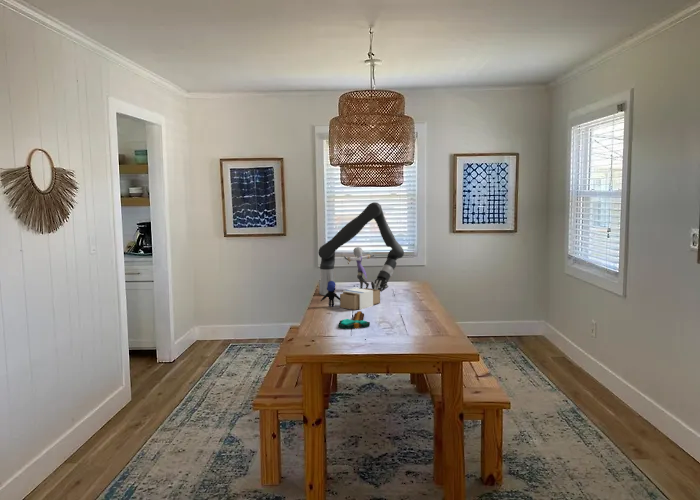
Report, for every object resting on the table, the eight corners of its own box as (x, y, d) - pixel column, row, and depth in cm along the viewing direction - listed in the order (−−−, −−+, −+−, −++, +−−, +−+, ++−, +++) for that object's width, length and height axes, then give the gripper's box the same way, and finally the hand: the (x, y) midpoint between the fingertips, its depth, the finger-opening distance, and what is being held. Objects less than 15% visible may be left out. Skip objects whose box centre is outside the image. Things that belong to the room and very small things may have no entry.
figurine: (345, 287, 391) (344, 245, 388) (374, 287, 390) (374, 245, 387) (343, 291, 375) (343, 248, 372) (374, 291, 374) (374, 247, 370)
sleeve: (355, 303, 338) (355, 287, 337) (373, 306, 329) (373, 290, 328) (342, 306, 329) (342, 290, 328) (360, 309, 320) (360, 293, 319)
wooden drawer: (366, 300, 343) (366, 288, 342) (380, 303, 336) (380, 290, 335) (340, 307, 325) (340, 294, 324) (354, 309, 318) (354, 296, 317)
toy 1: (343, 305, 333) (342, 280, 331) (341, 307, 327) (341, 282, 325) (321, 304, 334) (321, 280, 333) (320, 307, 328) (319, 282, 327)
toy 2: (343, 316, 306) (337, 330, 277) (343, 311, 306) (337, 324, 276) (371, 316, 305) (369, 330, 275) (371, 311, 305) (369, 324, 275)
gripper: (374, 269, 350) (362, 291, 342) (391, 270, 341) (379, 293, 333) (379, 276, 354) (367, 298, 346) (396, 278, 346) (384, 300, 338)
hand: (373, 295), depth 340 cm, fingers closed
